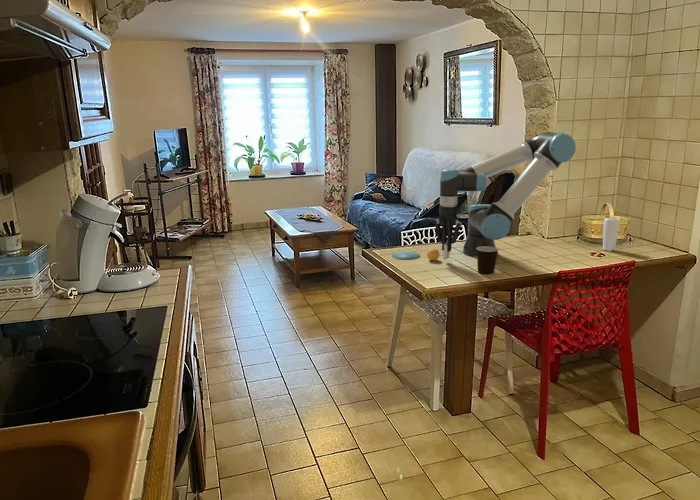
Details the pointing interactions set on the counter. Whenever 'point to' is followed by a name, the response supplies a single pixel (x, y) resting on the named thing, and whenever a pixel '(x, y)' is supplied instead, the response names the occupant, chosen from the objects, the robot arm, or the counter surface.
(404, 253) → the disc
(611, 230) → the white tall block
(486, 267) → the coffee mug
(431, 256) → the ball
